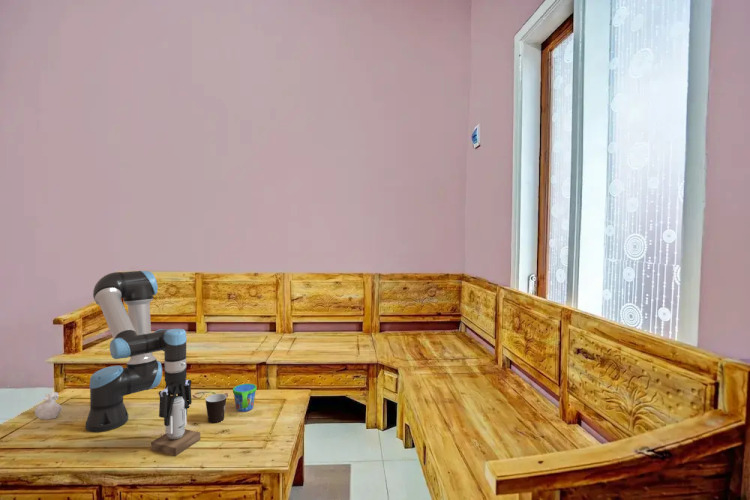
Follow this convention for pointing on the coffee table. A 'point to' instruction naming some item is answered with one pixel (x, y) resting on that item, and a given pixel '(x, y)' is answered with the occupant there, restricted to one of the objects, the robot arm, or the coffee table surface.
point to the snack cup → (244, 396)
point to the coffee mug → (215, 407)
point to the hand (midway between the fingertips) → (176, 428)
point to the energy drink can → (178, 418)
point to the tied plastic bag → (48, 407)
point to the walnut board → (175, 443)
